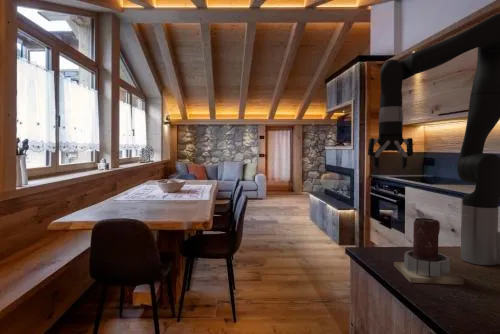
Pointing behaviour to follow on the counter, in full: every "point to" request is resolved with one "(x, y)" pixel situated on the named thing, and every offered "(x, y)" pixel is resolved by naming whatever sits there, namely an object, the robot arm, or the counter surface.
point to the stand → (423, 279)
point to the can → (426, 239)
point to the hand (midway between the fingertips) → (389, 168)
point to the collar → (427, 265)
